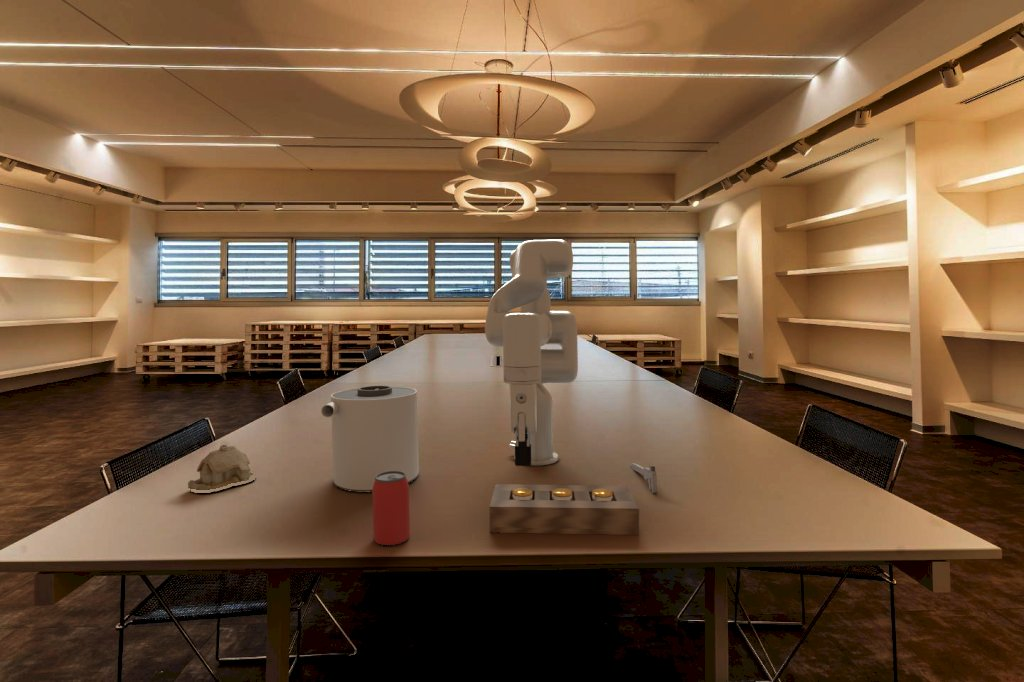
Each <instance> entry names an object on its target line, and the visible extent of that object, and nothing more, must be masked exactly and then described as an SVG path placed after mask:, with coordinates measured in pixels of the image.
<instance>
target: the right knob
mask: <svg viewBox="0 0 1024 682" xmlns="http://www.w3.org/2000/svg"><path fill="white" fill-rule="evenodd" d="M592 501H612V491H610V490H607V489H595V490H593V491H592Z"/></svg>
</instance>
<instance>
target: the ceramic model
mask: <svg viewBox="0 0 1024 682" xmlns="http://www.w3.org/2000/svg"><path fill="white" fill-rule="evenodd" d="M250 464H251V462H250V459H249V458H248V456H247V454H246V453H244V452H243V451H241V450H240V449H238V448H237V447H236V446H234V445H229V446H228V445H227V444H223V445H220V446H219V449H216V450H215V449H214V450H213V451H210V452H209V453H208V454H207V455H206V456H205V457H203V459H201V461H200V462H199V464H198V466H197V469H196V472H197V473H199V478H196V479H194V480H193V479H190V480H189V481H188V482H187V488H188V489H189V488H190V489H196V490H210V489H216V488H220V487H223V486H227V485H228V484H231V483H237V482H241V481H247V480H249V478H250V477H251V475H253V474H254V473H252V472H250V471H251V467H250V466H249V465H250Z"/></svg>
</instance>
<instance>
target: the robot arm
mask: <svg viewBox="0 0 1024 682" xmlns="http://www.w3.org/2000/svg"><path fill="white" fill-rule="evenodd" d="M573 265H574V255H573V249H572V247H571V245H570V243H569V242H568V241H566V240H564V239H533V240H532V239H531V240H525V241H523V242H521V243H520V244H519V245H517V247H516V249H514V250H512V252H511V253H510V255H509V267H510V270H511V280H509V281H507V282H506V283H505V284H503V285H502V286H501V287H500V288H498V289H497V291H496V292H494V294H493V295H492V296H491V298H490V300H489V303H488V305H487V312H486V316H485V324H484V333H485V337H486V341H487V343H489V344H490V345H491V346H494V347H502V356H503V357H502V363H503V365H502V366H503V368H502V369H503V372H502V373H503V383H504V384H509V385H508V386H509V415H510V416H509V417H510V428H511V433H512V434H513V435H515V440H511V441H510V442H509V446H508V447H509V448H508V449H510V450H514V458H513V459H514V464H515V466H516V467H531V466H536V467H537V466H547V465H552V464H555V463H556V462H557V461H559V455H558V453H557V452H555V451H554V437H553V435H554V434H553V433H554V432H553V431H554V429H553V428H554V427H553V424H554V423H553V421H554V420H553V414H554V413H553V409H554V408H553V406H554V405H553V396H552V395H551V393H550V391H549V390H548V389H547V388H546V386H545V385H544V384H550V383H551V384H566V383H567V384H569V383H573V382H574V381H575V380H576V379H577V377H578V369H579V366H578V364H579V361H578V355H579V354H578V352H579V351H578V349H579V348H578V325H577V324H578V323H577V319H576V317H575V314H574V313H573V312H571V311H568V310H552V309H551V293H550V291H549V289H548V287H547V285H548V279H551V278H552V279H553V278H554V279H555V278H558V279H559V278H567V277H569V276H570V275H571V273H572V271H573V267H574V266H573ZM519 307H520V310H519V311H513V310H515V309H517V308H519ZM544 345H559V346H560V347H561V348H560V349H559V348H557V349H555V348H554V349H553V348H552V349H550V348H541V347H543V346H544Z"/></svg>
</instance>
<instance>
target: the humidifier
mask: <svg viewBox="0 0 1024 682" xmlns="http://www.w3.org/2000/svg"><path fill="white" fill-rule="evenodd" d="M320 413H321V415H322V416H323V417H325V418H331V437H332V438H331V442H332V443H331V445H332V472H333V473H332V475H333V484H334V486H335V487H336V488H338V487H339V488H338V489H340V488H342V489H346V490H351V491H372V489H373V484H374V481H375V476H376V475H378V474H380V473H383V472H387V471H401V472H404V473H405V474H406V478H407V481H408V483H409V484H411V483H413V482H414V481H416V479H417V478H418V477H419V473H420V470H419V469H420V467H419V466H420V464H419V462H420V461H419V423H418V417H419V416H418V390H417V389H416V388H413V387H408V386H406V387H405V386H389V385H366V386H361V387H358V388H350V389H344V390H341V391H336V392H333V393H331V395H330V402H328V403H327V404H324V405H323V406H322V408H321V409H320ZM413 480H414V481H413ZM410 482H411V483H410ZM342 489H341V490H342Z"/></svg>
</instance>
